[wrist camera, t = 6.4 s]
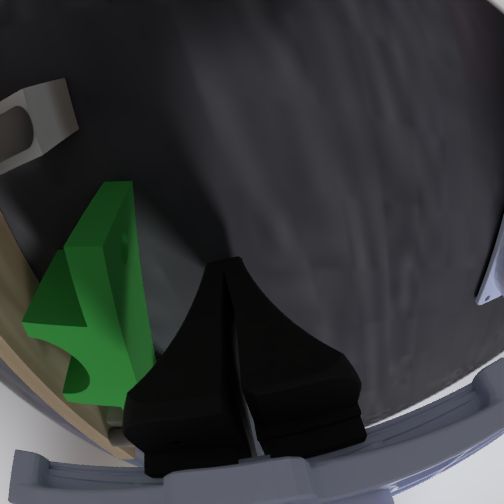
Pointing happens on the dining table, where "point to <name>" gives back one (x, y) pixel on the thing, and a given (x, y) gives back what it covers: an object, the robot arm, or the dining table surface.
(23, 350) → the wooden drawer handle
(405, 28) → the dining table surface
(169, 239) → the dining table surface
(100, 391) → the pipe clamp
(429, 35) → the dining table surface
